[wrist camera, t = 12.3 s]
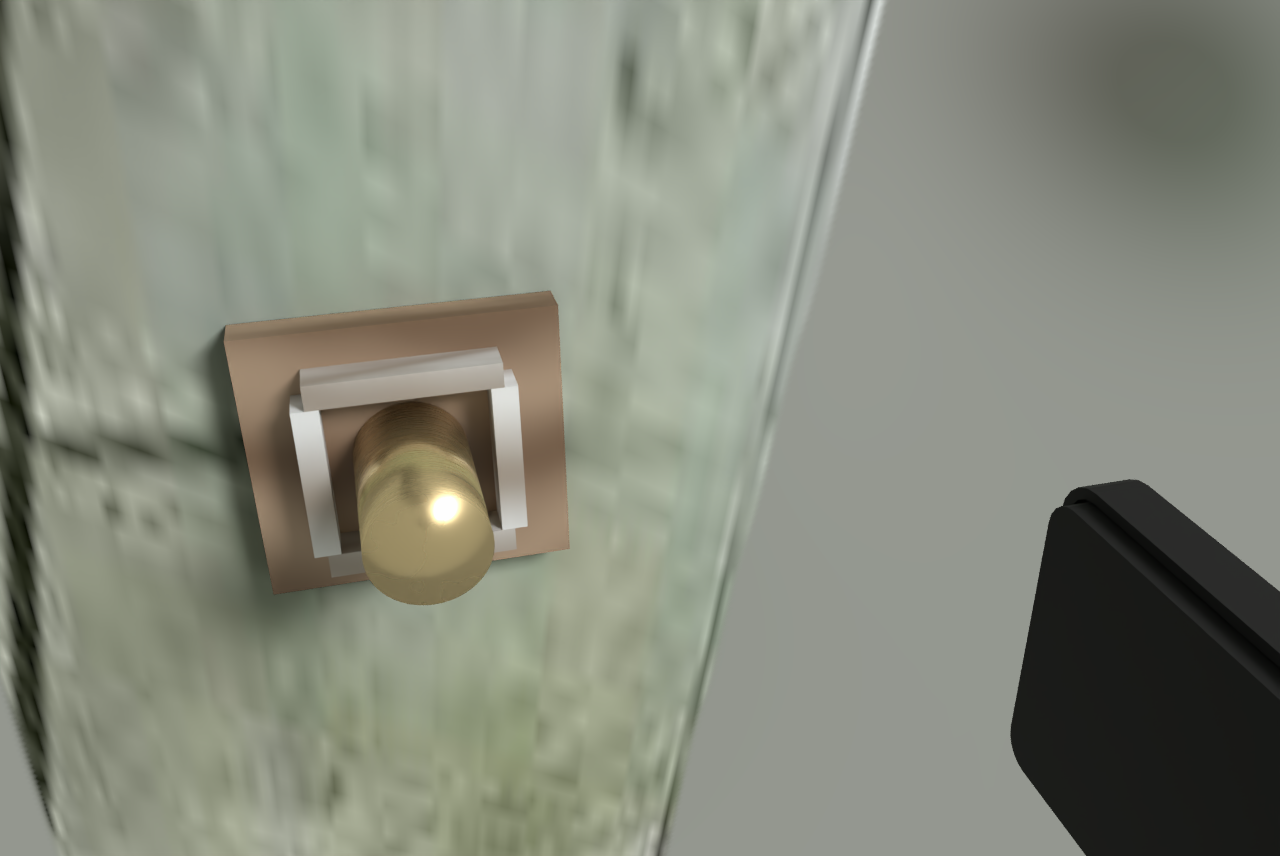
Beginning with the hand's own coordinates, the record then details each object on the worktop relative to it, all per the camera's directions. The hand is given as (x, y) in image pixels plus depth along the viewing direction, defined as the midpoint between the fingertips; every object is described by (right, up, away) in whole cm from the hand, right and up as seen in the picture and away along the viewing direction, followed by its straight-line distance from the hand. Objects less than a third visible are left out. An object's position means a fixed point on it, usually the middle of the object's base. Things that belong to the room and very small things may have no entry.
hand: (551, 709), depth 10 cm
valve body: (-8, +1, +35) cm, 36 cm away
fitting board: (-8, +2, +37) cm, 38 cm away
